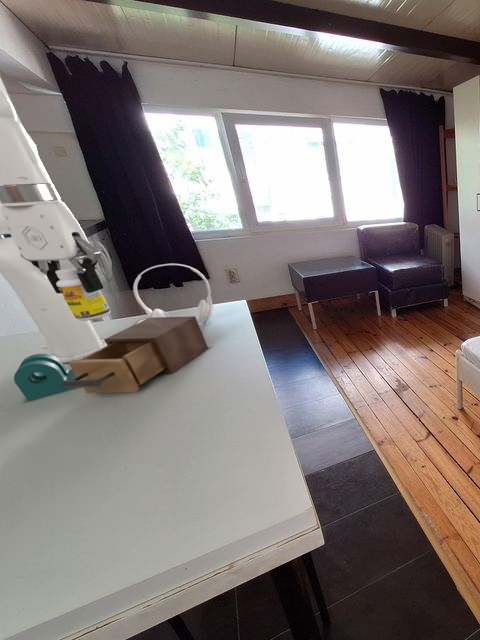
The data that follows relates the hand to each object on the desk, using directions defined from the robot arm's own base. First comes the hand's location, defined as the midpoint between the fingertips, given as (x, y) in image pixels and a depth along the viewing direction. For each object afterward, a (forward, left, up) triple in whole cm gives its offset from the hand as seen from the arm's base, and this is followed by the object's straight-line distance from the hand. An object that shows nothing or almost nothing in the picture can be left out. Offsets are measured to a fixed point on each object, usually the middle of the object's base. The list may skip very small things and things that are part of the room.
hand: (80, 290), depth 75 cm
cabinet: (-1, +12, -23) cm, 26 cm away
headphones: (-12, +35, -23) cm, 44 cm away
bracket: (-15, +3, -23) cm, 28 cm away
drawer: (-1, -1, -22) cm, 22 cm away
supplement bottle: (0, 0, -6) cm, 6 cm away
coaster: (-29, +40, -23) cm, 54 cm away
